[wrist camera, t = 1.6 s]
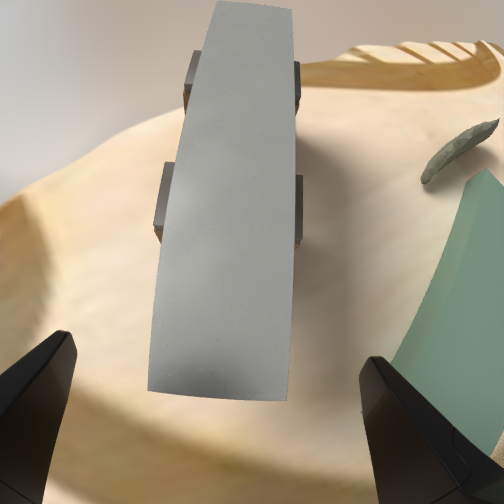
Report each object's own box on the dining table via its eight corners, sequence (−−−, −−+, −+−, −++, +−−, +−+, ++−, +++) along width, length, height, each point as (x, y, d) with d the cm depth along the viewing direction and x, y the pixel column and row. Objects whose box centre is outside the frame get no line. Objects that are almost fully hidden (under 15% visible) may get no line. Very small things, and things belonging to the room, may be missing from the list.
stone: (466, 130, 26) (493, 105, 22) (478, 145, 26) (506, 121, 21) (406, 175, 23) (439, 143, 19) (421, 195, 23) (457, 166, 18)
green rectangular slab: (456, 466, 17) (479, 474, 14) (360, 412, 18) (382, 422, 15) (533, 257, 23) (553, 250, 21) (466, 182, 24) (486, 167, 21)
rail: (265, 382, 12) (286, 401, 9) (167, 375, 12) (147, 390, 8) (278, 58, 17) (291, 9, 13) (214, 51, 17) (217, 0, 13)
